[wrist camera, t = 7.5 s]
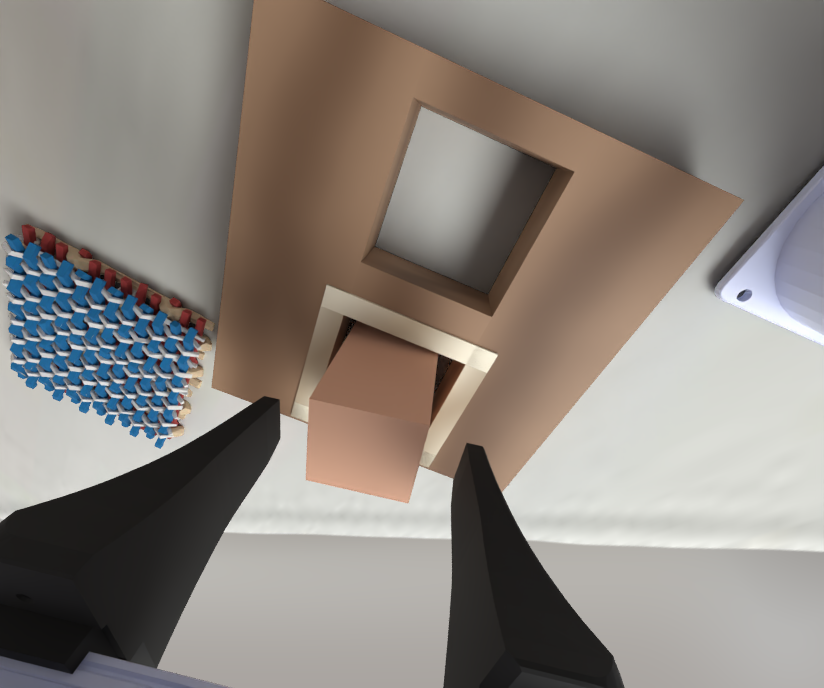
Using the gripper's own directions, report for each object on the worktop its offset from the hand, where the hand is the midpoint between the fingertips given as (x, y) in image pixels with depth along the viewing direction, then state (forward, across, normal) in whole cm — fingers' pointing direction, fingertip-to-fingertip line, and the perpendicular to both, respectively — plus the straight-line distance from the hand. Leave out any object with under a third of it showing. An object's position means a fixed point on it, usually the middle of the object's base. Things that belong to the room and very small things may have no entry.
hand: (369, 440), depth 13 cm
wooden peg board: (+6, -1, -4) cm, 7 cm away
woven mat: (+7, +16, +3) cm, 18 cm away
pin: (+6, 0, 0) cm, 6 cm away
